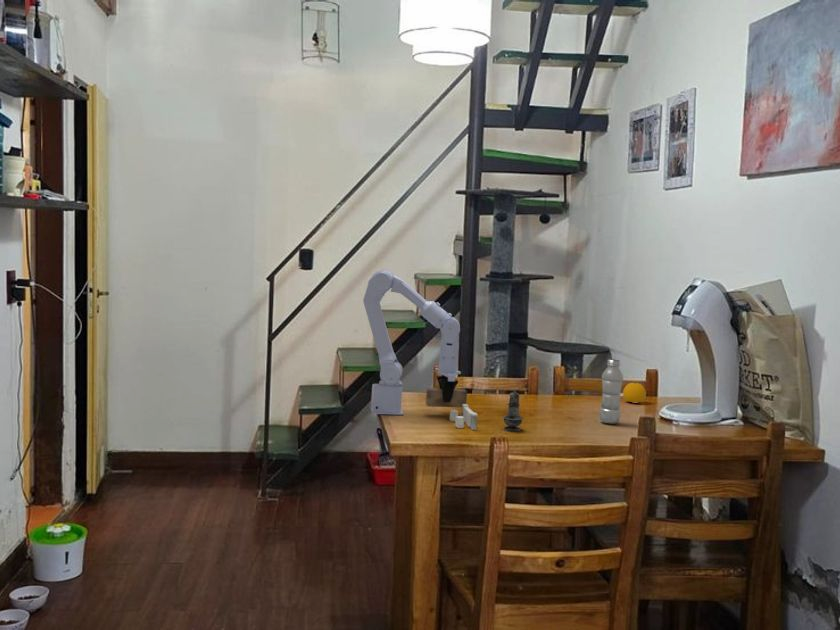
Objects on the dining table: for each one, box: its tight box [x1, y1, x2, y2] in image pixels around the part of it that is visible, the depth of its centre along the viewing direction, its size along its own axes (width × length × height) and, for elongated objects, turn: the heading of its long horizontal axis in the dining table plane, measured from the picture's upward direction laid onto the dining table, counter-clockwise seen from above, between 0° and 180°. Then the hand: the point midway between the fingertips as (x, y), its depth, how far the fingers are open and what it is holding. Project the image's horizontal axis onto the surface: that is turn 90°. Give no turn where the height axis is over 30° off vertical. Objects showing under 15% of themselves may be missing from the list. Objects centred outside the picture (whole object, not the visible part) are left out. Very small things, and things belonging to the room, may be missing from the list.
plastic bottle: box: [598, 358, 624, 425], centre depth 252 cm, size 6×7×20 cm
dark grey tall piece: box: [502, 388, 524, 433], centre depth 237 cm, size 6×6×12 cm
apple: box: [622, 382, 647, 403], centre depth 291 cm, size 8×8×8 cm
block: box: [425, 387, 468, 408], centre depth 251 cm, size 12×4×5 cm, turn 98°
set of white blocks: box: [449, 403, 478, 431], centre depth 241 cm, size 6×15×4 cm, turn 8°
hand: (445, 400), depth 251 cm, fingers closed on block, 3 cm apart
